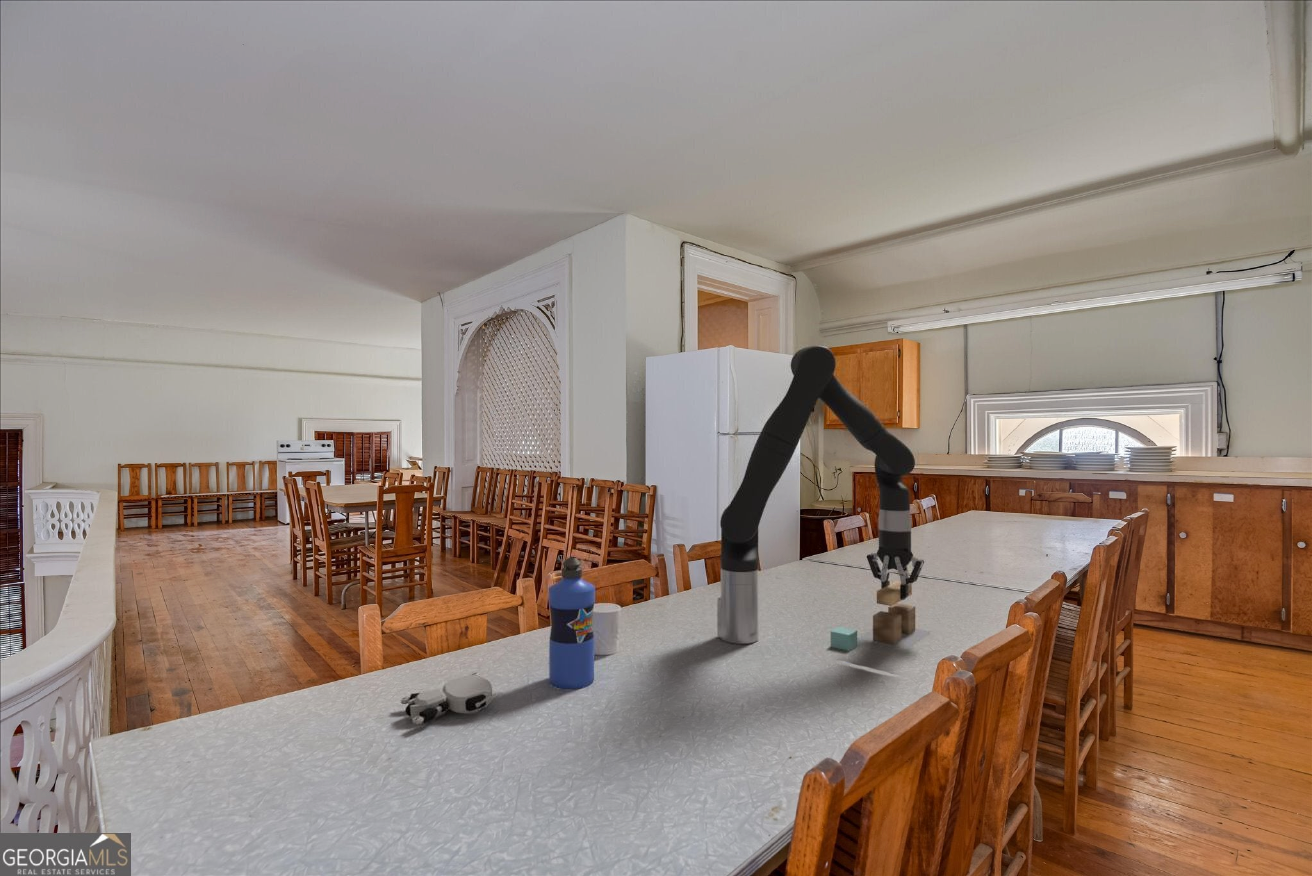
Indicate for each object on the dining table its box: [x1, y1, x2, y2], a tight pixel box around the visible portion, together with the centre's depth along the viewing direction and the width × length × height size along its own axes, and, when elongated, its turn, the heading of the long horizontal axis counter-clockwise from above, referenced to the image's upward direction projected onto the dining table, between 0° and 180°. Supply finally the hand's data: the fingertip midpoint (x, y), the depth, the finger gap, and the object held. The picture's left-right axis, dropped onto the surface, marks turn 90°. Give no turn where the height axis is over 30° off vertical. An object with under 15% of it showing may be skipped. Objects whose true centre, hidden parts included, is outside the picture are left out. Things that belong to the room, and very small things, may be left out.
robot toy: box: [400, 671, 499, 725], centre depth 112 cm, size 12×4×15 cm
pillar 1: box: [872, 610, 901, 645], centre depth 150 cm, size 5×5×6 cm
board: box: [857, 627, 932, 651], centre depth 154 cm, size 12×18×1 cm, turn 139°
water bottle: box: [548, 556, 596, 690], centre depth 127 cm, size 9×9×25 cm
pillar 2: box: [888, 602, 916, 635], centre depth 157 cm, size 5×5×6 cm
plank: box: [876, 580, 913, 607], centre depth 154 cm, size 4×14×3 cm, turn 139°
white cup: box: [592, 602, 622, 656], centre depth 145 cm, size 8×8×10 cm
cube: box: [830, 626, 858, 652], centre depth 145 cm, size 4×4×4 cm
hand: (894, 597), depth 154 cm, fingers closed on plank, 3 cm apart
